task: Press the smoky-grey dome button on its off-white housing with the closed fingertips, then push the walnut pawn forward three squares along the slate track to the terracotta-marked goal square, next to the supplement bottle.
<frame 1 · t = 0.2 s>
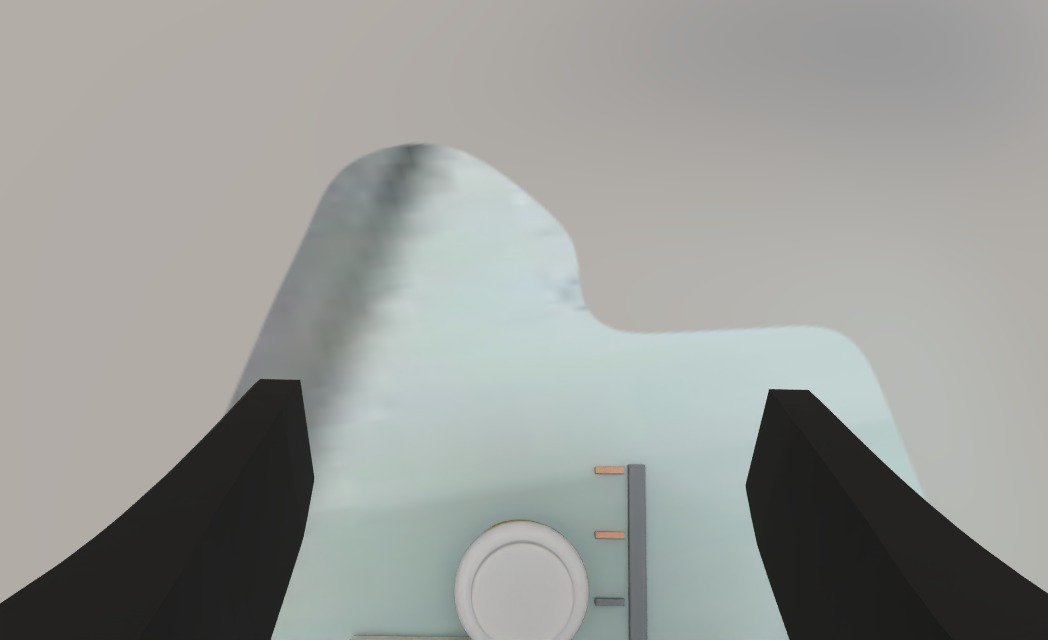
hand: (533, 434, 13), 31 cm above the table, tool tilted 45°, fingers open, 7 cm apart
track: (719, 625, 42), on the table
supplement bottle: (518, 575, 42), on the table
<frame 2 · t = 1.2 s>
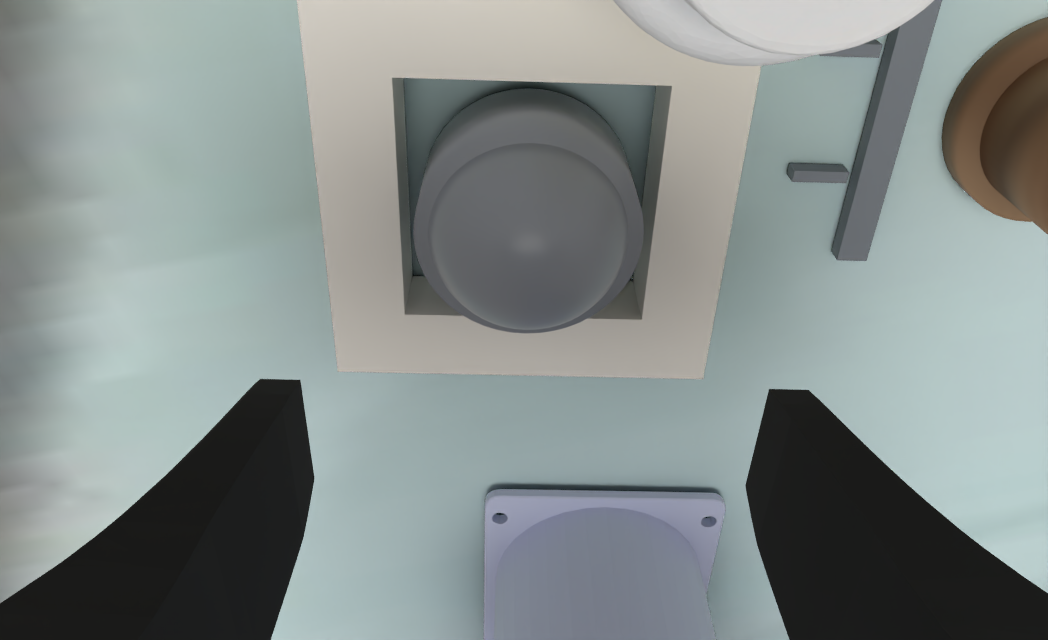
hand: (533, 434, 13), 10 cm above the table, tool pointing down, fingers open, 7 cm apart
pawn: (1043, 114, 21), on the table
housing: (526, 175, 22), on the table
dome: (528, 230, 19), point 3 cm above the table, slide at 0.4 cm
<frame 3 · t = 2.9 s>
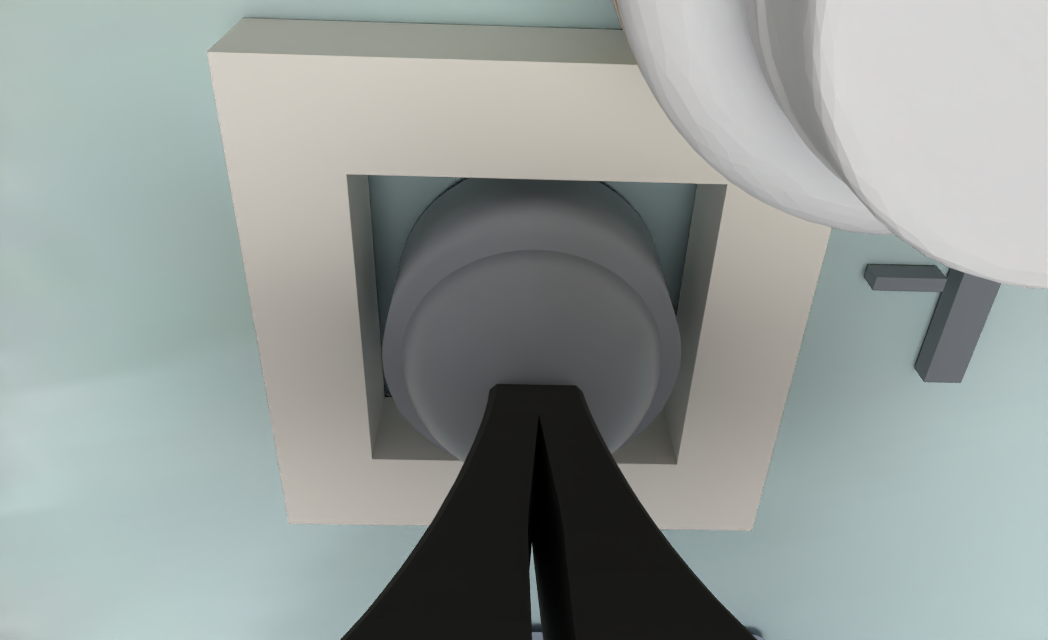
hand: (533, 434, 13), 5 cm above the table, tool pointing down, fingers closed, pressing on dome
housing: (529, 280, 17), on the table
dome: (531, 350, 15), point 2 cm above the table, slide at 1.1 cm, touching gripper
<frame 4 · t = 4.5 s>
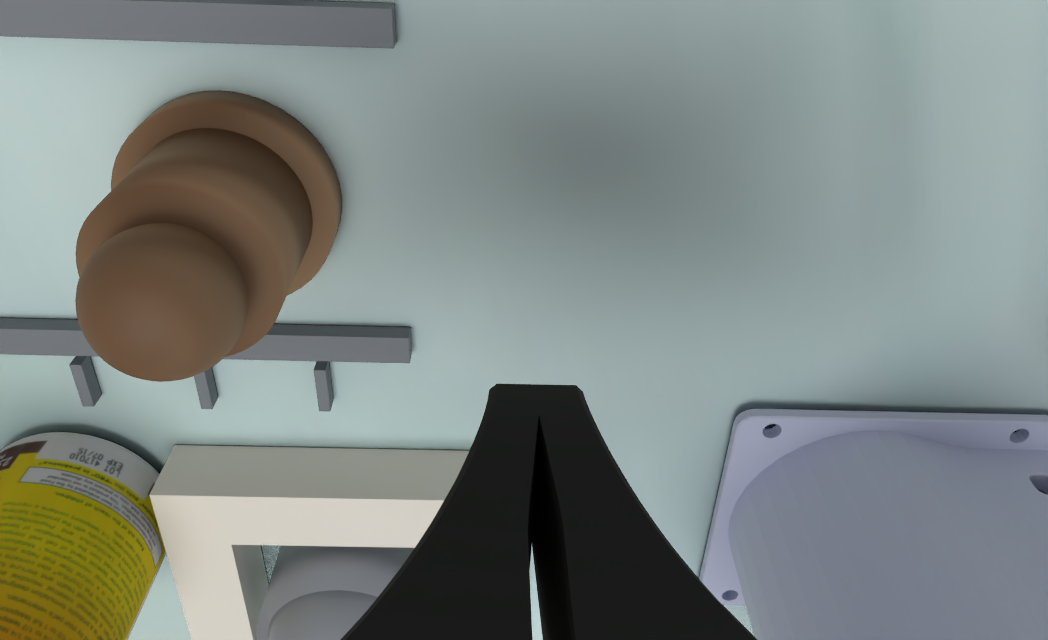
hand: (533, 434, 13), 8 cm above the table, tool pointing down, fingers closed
pawn: (236, 193, 20), on the table
track: (76, 190, 20), on the table
supplement bottle: (92, 487, 26), on the table
housing: (360, 564, 27), on the table
dome: (347, 628, 25), point 2 cm above the table, slide at 1.1 cm
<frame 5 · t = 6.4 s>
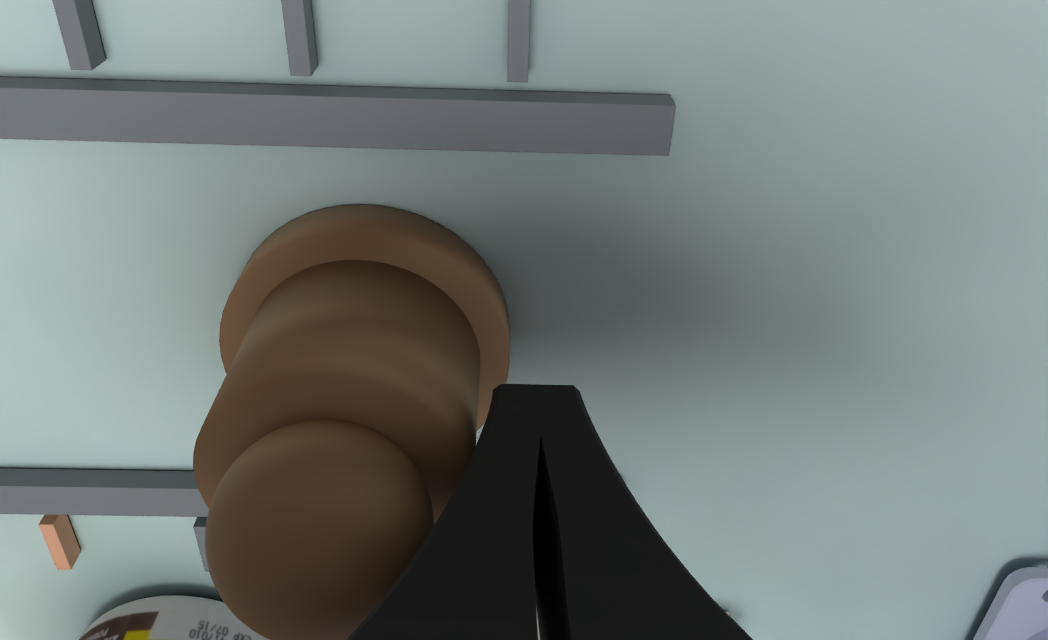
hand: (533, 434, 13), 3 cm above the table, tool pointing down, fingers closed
pawn: (373, 327, 15), on the table, touching gripper
track: (219, 324, 15), on the table
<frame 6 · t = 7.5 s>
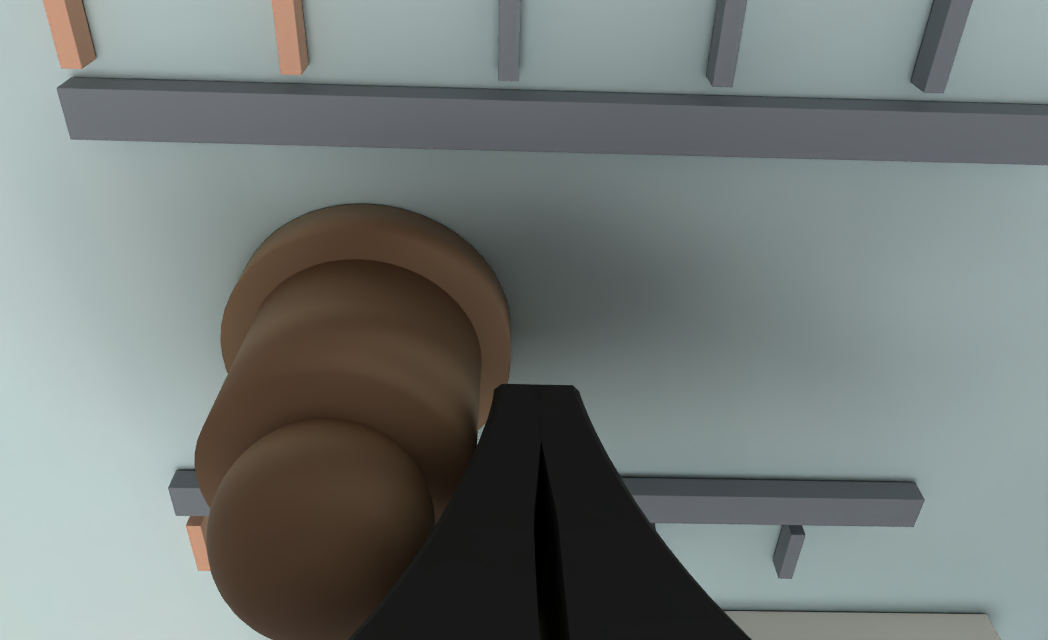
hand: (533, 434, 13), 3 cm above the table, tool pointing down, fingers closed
pawn: (375, 327, 15), on the table, touching gripper
track: (559, 330, 16), on the table
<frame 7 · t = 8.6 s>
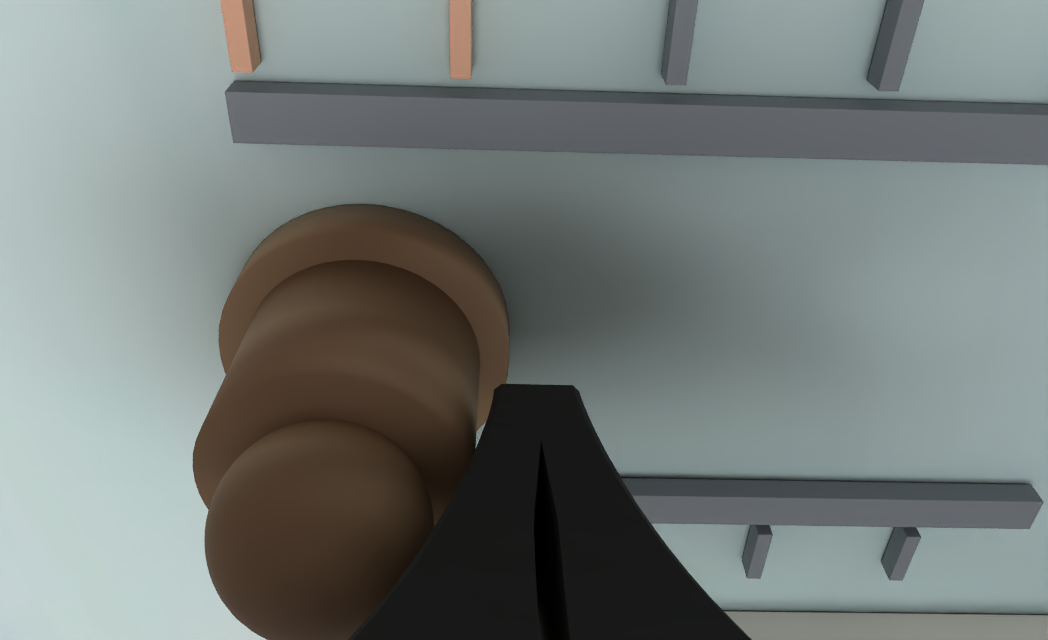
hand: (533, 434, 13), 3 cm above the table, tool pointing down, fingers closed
pawn: (373, 327, 15), on the table, touching gripper
track: (693, 333, 16), on the table
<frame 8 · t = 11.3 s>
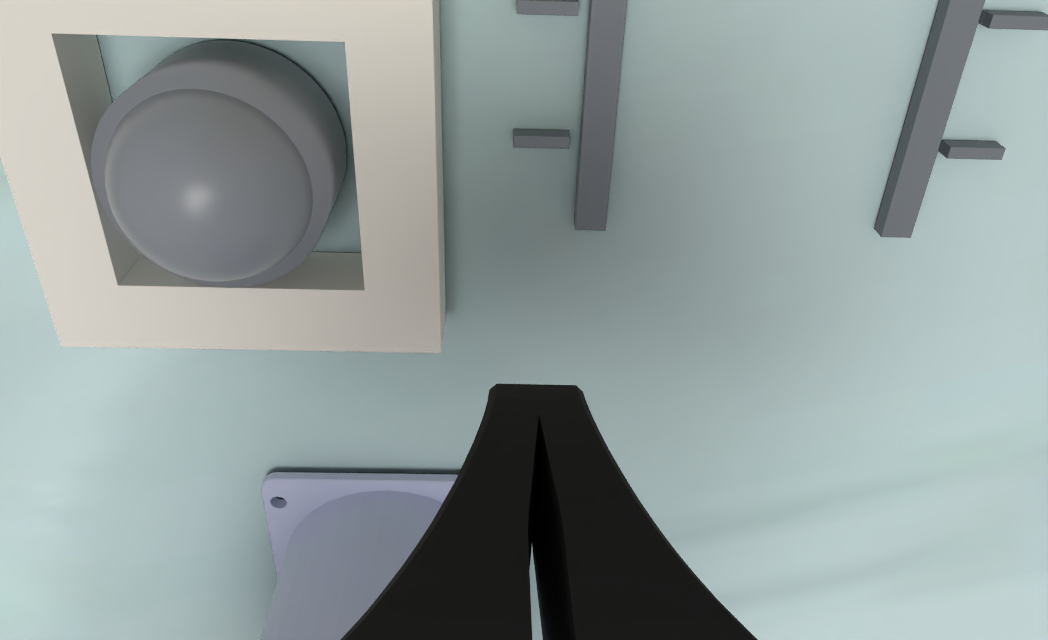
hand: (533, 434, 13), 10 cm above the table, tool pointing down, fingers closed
housing: (244, 142, 21), on the table
dome: (216, 181, 19), point 2 cm above the table, slide at 1.1 cm
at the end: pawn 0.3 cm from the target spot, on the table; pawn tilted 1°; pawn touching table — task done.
